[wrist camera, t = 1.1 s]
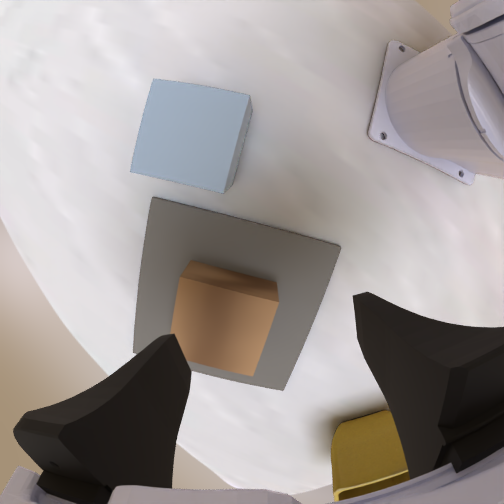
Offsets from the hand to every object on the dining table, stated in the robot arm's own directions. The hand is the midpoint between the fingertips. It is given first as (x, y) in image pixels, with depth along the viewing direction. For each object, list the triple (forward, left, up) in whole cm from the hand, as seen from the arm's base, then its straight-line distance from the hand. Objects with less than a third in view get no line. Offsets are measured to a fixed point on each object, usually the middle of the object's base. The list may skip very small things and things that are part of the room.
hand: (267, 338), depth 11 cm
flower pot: (-15, +15, -10) cm, 24 cm away
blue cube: (+6, -7, -10) cm, 13 cm away
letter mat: (+2, +4, -10) cm, 11 cm away
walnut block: (+2, +4, -9) cm, 10 cm away
